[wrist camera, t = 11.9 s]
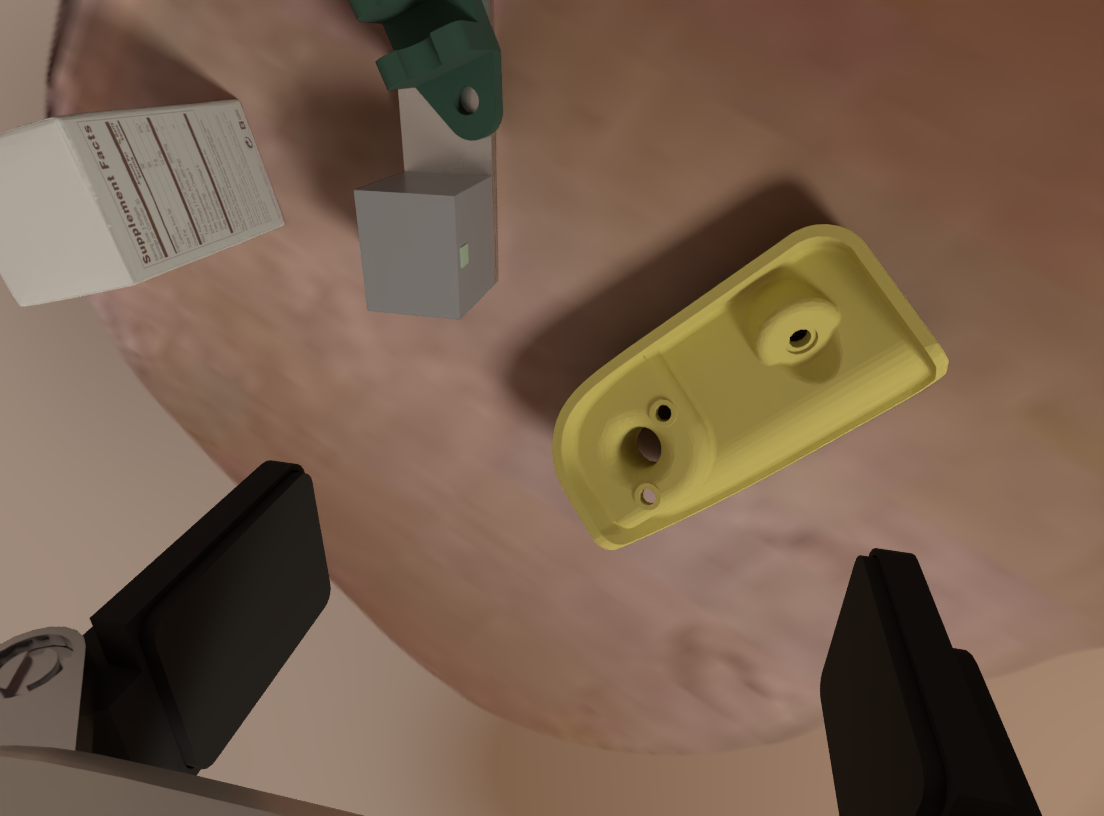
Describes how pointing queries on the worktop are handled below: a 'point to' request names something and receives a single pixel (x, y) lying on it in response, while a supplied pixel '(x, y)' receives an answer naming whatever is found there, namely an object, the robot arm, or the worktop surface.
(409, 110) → the rail
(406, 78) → the mount
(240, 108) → the supplement box
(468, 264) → the block
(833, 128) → the worktop surface
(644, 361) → the plastic component
